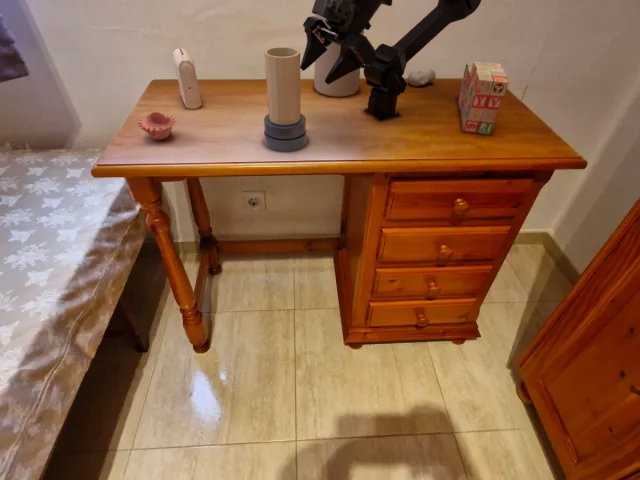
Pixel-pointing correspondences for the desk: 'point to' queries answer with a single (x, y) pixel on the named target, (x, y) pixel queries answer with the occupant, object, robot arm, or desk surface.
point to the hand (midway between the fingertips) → (313, 76)
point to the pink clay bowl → (157, 125)
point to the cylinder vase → (322, 68)
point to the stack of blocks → (481, 96)
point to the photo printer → (187, 78)
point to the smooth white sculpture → (421, 77)
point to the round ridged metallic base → (285, 135)
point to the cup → (283, 84)
